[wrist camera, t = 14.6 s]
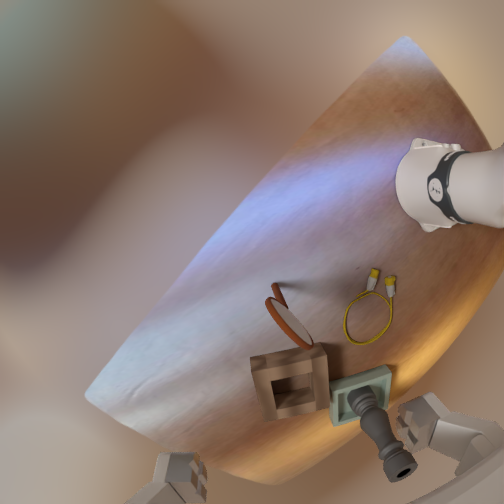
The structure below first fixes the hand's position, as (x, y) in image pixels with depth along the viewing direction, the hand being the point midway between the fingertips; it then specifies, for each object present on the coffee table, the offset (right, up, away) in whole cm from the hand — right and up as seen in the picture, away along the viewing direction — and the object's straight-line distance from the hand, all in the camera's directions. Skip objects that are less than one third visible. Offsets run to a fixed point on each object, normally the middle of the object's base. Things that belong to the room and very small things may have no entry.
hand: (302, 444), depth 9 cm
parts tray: (+22, -25, +49) cm, 59 cm away
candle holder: (+23, -25, +48) cm, 59 cm away
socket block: (+6, -18, +47) cm, 50 cm away
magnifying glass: (+2, +2, +42) cm, 42 cm away
